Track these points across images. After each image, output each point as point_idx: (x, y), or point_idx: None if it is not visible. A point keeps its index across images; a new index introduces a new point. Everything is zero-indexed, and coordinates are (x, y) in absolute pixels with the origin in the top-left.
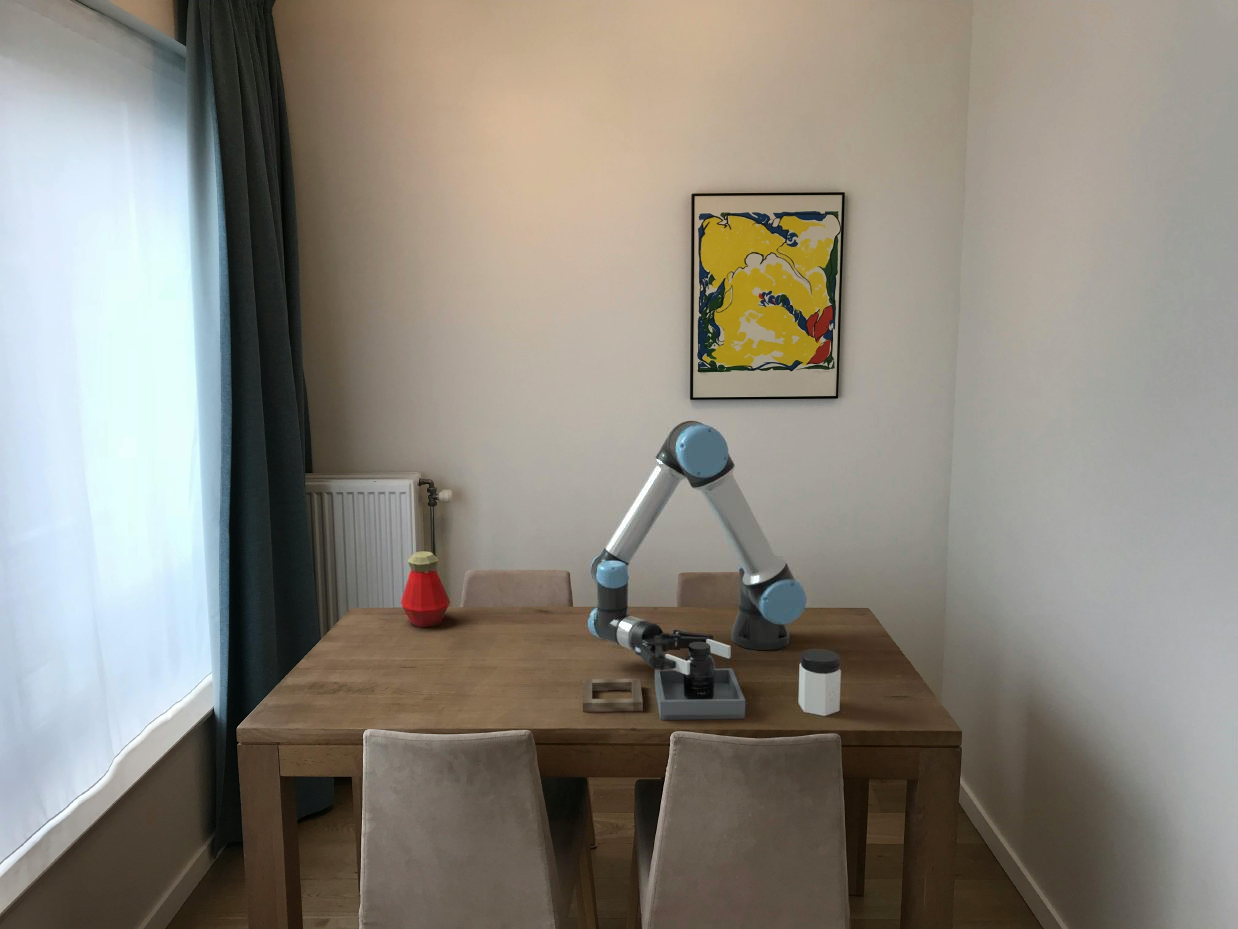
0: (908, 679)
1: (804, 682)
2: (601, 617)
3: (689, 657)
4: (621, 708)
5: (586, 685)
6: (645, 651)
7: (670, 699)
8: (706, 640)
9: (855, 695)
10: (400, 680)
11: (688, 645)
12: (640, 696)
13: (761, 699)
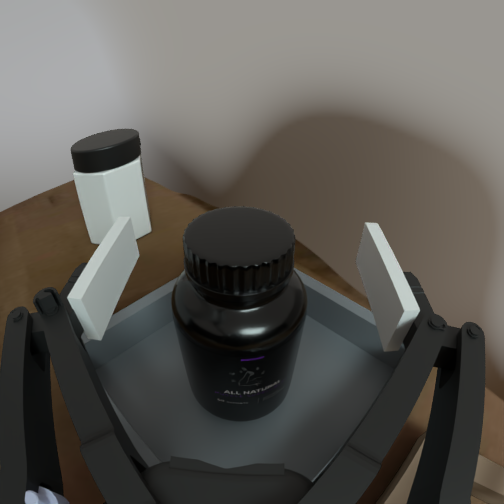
0: (3, 212)
1: (141, 182)
2: None
3: (285, 293)
4: None
5: None
6: (483, 407)
7: (324, 424)
8: (83, 300)
9: (60, 221)
10: None
11: (110, 408)
12: (414, 465)
13: (132, 293)
